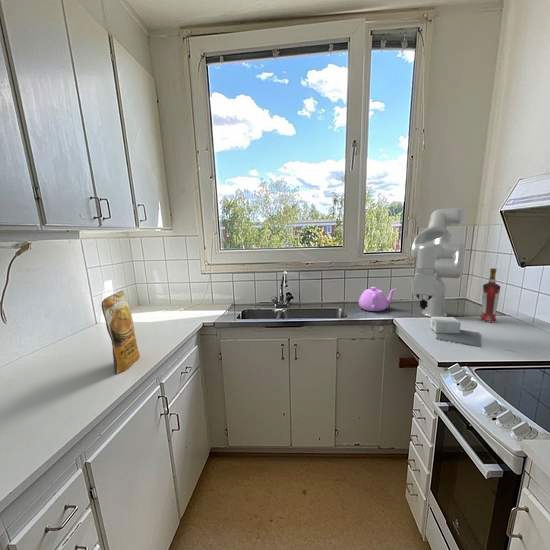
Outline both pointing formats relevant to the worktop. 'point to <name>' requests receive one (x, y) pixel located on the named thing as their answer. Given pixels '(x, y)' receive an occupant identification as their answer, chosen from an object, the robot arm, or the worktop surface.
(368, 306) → the teapot
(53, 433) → the worktop surface
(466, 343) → the mat
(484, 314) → the liquor
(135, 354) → the pancake mix bag
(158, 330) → the worktop surface
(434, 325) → the small box
